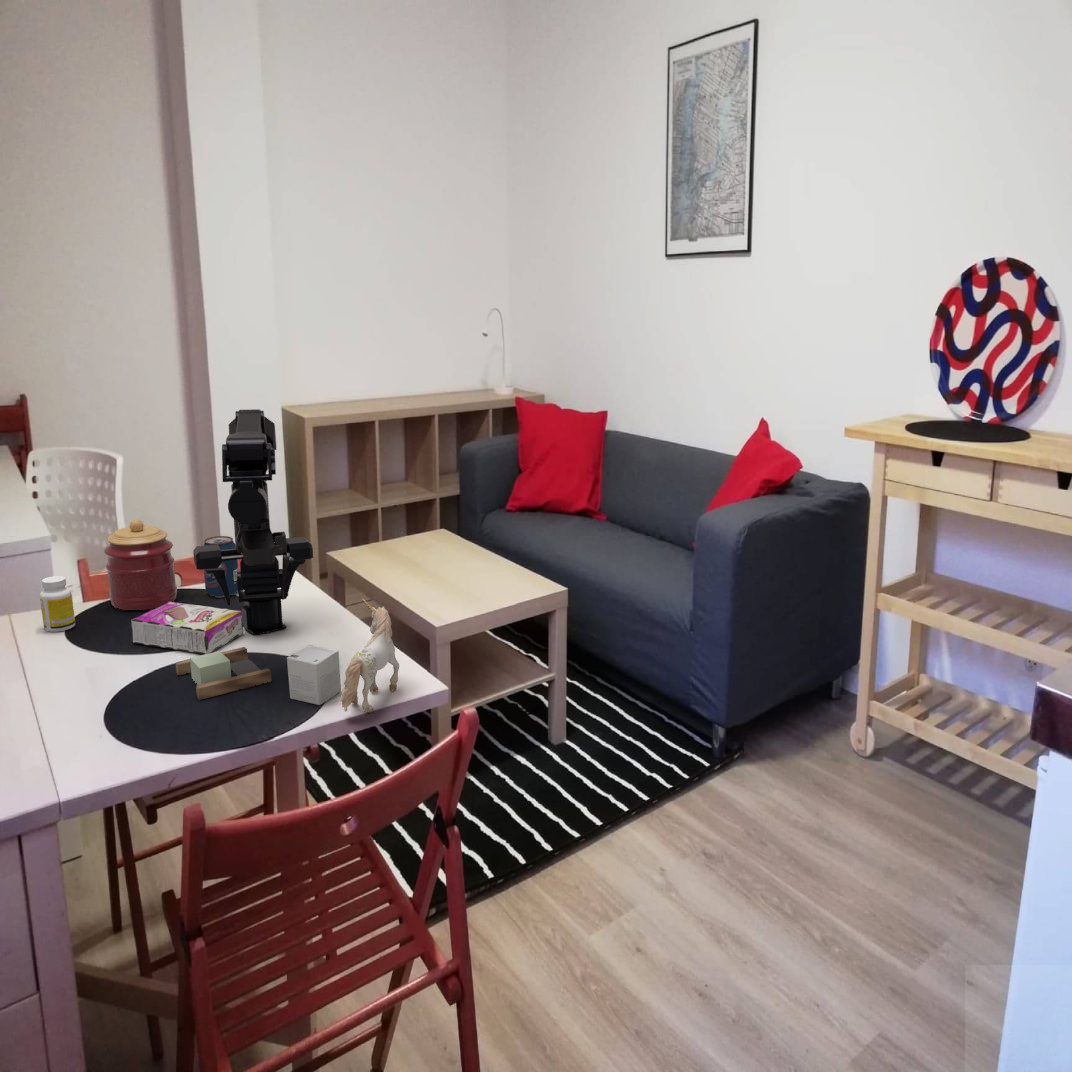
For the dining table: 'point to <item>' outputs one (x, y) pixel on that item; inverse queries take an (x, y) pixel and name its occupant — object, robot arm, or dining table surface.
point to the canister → (140, 567)
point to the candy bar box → (187, 627)
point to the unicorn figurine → (371, 661)
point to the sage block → (210, 668)
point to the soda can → (229, 567)
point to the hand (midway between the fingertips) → (257, 601)
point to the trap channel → (241, 667)
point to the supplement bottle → (56, 604)
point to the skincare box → (314, 674)
